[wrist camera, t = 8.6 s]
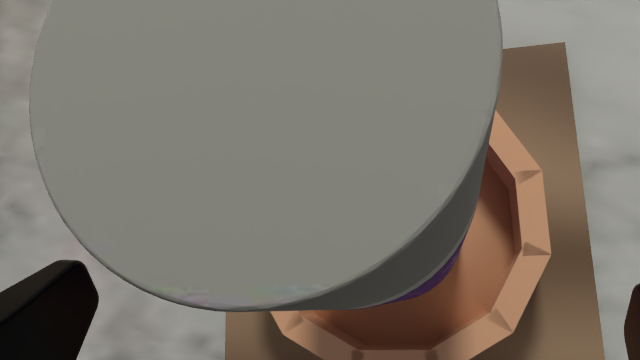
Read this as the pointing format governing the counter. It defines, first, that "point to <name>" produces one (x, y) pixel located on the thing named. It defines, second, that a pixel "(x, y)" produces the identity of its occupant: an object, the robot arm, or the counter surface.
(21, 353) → the robot arm
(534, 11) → the counter surface
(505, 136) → the terracotta dish
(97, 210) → the container
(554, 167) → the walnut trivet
